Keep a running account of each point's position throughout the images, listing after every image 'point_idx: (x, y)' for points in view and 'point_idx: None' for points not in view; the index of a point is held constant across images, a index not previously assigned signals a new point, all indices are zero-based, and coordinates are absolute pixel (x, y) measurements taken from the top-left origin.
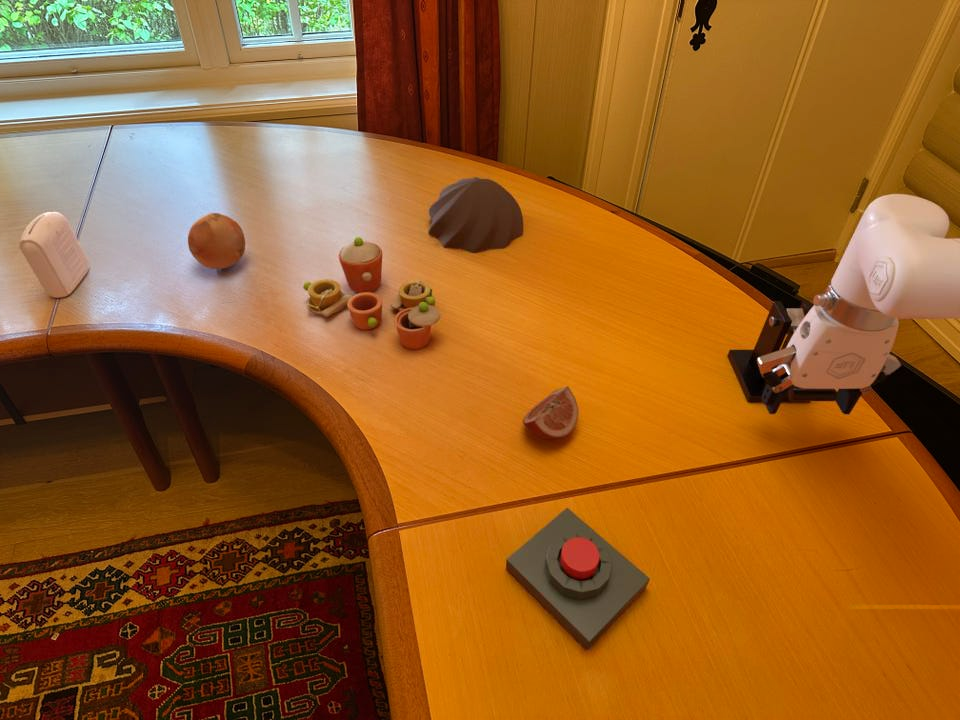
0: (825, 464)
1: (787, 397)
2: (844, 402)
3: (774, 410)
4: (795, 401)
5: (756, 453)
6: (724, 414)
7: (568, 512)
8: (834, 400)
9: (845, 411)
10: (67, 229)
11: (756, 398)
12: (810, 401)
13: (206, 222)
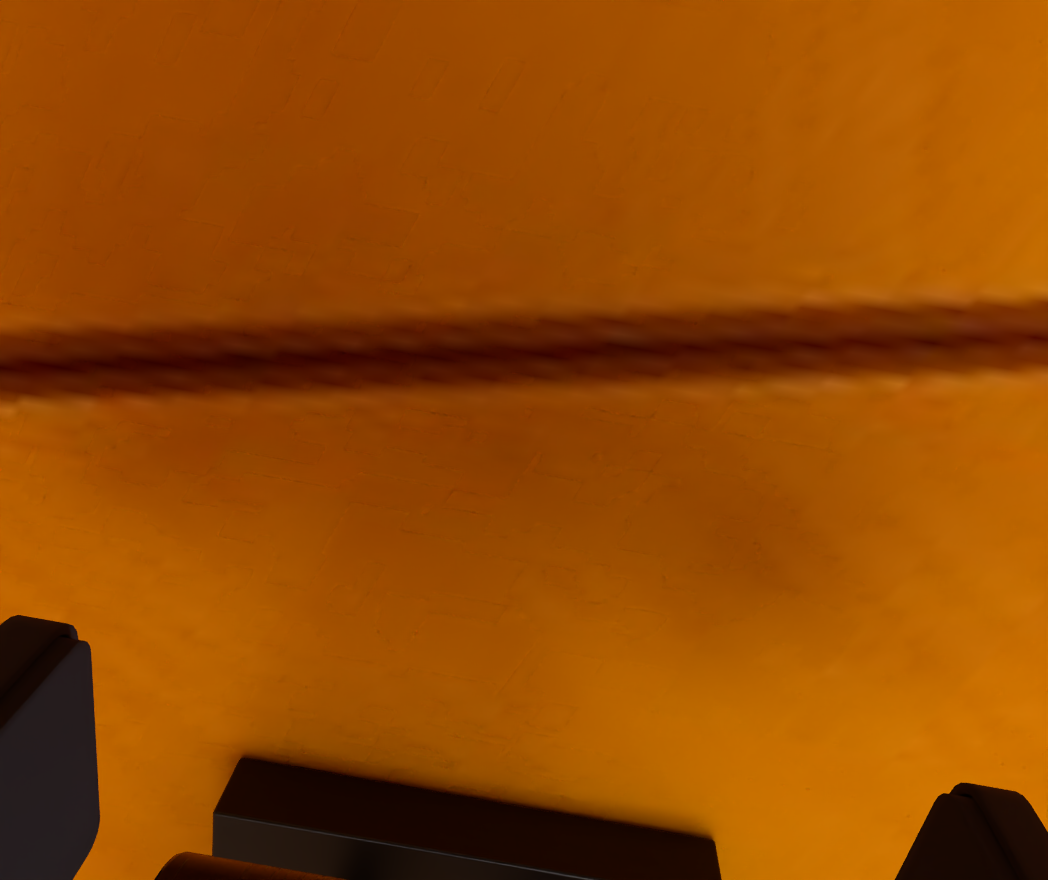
0: (442, 165)
1: (422, 836)
2: (14, 793)
3: (1034, 847)
4: (354, 785)
5: (1008, 402)
6: None
7: None
8: (172, 876)
9: (50, 661)
10: None
11: (668, 868)
12: (238, 765)
13: None
